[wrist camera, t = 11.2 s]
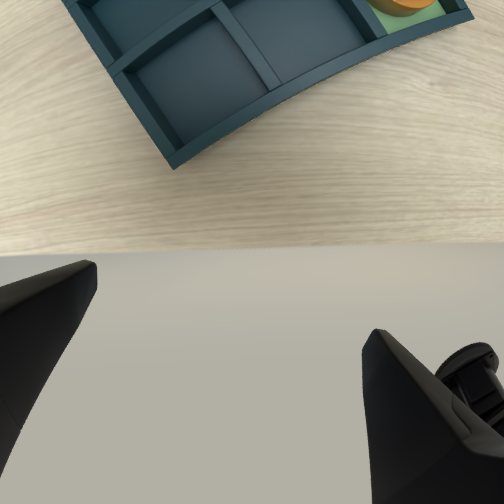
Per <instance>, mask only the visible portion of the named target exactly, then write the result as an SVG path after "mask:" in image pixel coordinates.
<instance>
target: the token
mask: <svg viewBox="0 0 504 504" xmlns="http://www.w3.org/2000/svg"><path fill="white" fill-rule="evenodd" d="M366 1H367V2H368V3H369V4H370V5H372V6H373V7H374V8H376V9H377V10H379V11H381V12H383V13H385V14H388V15H391V16H395V17H408V16H411V15H414V14H416V13H417V12H419V11H421V10H423V9H424V8H426V7H428V6H430V5H431V4H432V3H434V2H435V0H366Z"/></svg>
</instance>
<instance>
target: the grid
mask: <svg viewBox="0 0 504 504" xmlns="http://www.w3.org/2000/svg"><path fill="white" fill-rule="evenodd" d="M61 1H62V2H63V3H64V5H65V7H66V8H67V10H68V12H69V13H70V15H71V16H72V18H73V19H74V21H75V23H76V24H77V26H78V27H79V29H80V30H81V32H82V33H83V35H84V37H85V38H86V40H87V41H88V43H89V44H90V46H91V47H92V49H93V50H94V52H95V54H96V55H97V57H98V58H99V60H100V61H101V63H102V64H103V66H104V67H105V69H107V72H108V73H109V75H110V77H111V78H112V80H113V82H114V83H115V85H116V86H117V88H118V89H119V91H120V92H121V94H122V95H123V97H124V98H125V100H126V101H127V103H128V104H129V106H130V107H131V109H132V110H133V112H134V113H135V115H136V116H137V118H138V119H139V121H140V122H141V124H142V125H143V127H144V128H145V130H146V131H147V133H148V134H149V135H150V137H151V138H152V140H153V141H154V143H155V144H156V146H157V147H158V149H159V150H160V152H161V153H162V155H163V156H164V158H165V159H166V160H167V162H168V163H169V165H170V166H171V168H172V169H173V170H175V169H176V168H178V167H179V166H181V165H182V164H184V163H185V162H187V161H188V160H190V159H191V158H193V157H194V156H196V155H197V154H199V153H200V152H202V151H203V150H205V149H206V148H208V147H209V146H211V145H212V144H214V143H216V142H217V141H219V140H220V139H222V138H223V137H225V136H227V135H228V134H230V133H231V132H233V131H235V130H236V129H238V128H239V127H241V126H243V125H244V124H246V123H248V122H249V121H251V120H253V119H254V118H256V117H258V116H259V115H261V114H263V113H265V112H266V111H268V110H270V109H271V108H273V107H275V106H277V105H279V104H280V103H282V102H284V101H286V100H287V99H289V98H291V97H293V96H295V95H297V94H299V93H300V92H302V91H304V90H306V89H308V88H310V87H312V86H314V85H316V84H318V83H320V82H321V81H323V80H325V79H327V78H329V77H331V76H333V75H336V74H338V73H340V72H342V71H344V70H346V69H348V68H350V67H352V66H354V65H357V64H359V63H361V62H363V61H365V60H367V59H370V58H372V57H374V56H377V55H379V54H381V53H383V52H386V51H388V50H391V49H393V48H395V47H398V46H400V45H403V44H405V43H408V42H410V41H413V40H416V39H418V38H421V37H424V36H426V35H429V34H432V33H435V32H437V31H440V30H443V29H446V28H449V27H452V26H455V25H458V24H461V23H464V22H467V21H470V20H473V19H475V18H474V16H473V15H472V13H471V11H470V9H469V8H468V6H467V5H466V3H465V1H464V0H435V2H434V3H432V4H431V5H430V6H428V7H426V8H424V9H423V10H421V11H419V12H417V13H416V14H414V15H411V16H408V17H395V16H391V15H388V14H385V13H383V12H381V11H379V10H377V9H376V8H374V7H373V6H372V5H370V4H369V3H368V2H367V1H366V0H61Z"/></svg>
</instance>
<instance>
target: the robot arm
mask: <svg viewBox="0 0 504 504" xmlns="http://www.w3.org/2000/svg"><path fill="white" fill-rule="evenodd" d="M96 290H97V266H96V264H95V263H94V262H92V261H88V260H81V261H78V262H75V263H72V264H69V265H65V266H62V267H59V268H56V269H53V270H50V271H47V272H43V273H41V274H38V275H34V276H32V277H28V278H25V279H22V280H19V281H16V282H13V283H11V284H7V285H4V286H1V287H0V477H1V474H2V472H3V469H4V467H5V465H6V463H7V460H8V458H9V456H10V453H11V451H12V449H13V447H14V445H15V442H16V440H17V438H18V436H19V434H20V430H21V429H22V427H23V425H24V423H25V421H26V419H27V417H28V415H29V413H30V411H31V409H32V407H33V405H34V403H35V401H36V400H37V398H38V396H39V394H40V392H41V390H42V388H43V387H44V385H45V383H46V381H47V379H48V377H49V376H50V374H51V372H52V370H53V368H54V367H55V365H56V364H57V362H58V360H59V358H60V357H61V355H62V353H63V352H64V350H65V348H66V347H67V345H68V343H69V342H70V340H71V338H72V337H73V335H74V333H75V332H76V330H77V328H78V327H79V324H80V323H81V321H82V318H83V317H84V314H85V312H86V310H87V308H88V306H89V304H90V302H91V300H92V298H93V296H94V294H95V292H96ZM362 380H363V381H362V382H363V398H364V407H365V416H366V425H367V436H368V447H369V459H370V472H371V489H372V504H504V389H503V387H502V385H501V383H500V382H499V380H498V378H497V376H496V375H495V353H494V351H493V350H490V351H488V352H487V353H485V354H483V355H482V356H480V357H479V358H477V359H475V360H474V361H472V362H470V363H468V364H467V365H465V366H463V367H462V368H460V369H458V370H456V371H454V372H453V373H451V374H449V375H447V376H445V377H443V378H442V379H441V381H440V380H439V379H438V378H437V377H436V376H434V375H433V374H432V373H431V372H430V371H429V370H428V369H427V368H426V367H425V366H424V365H423V364H422V363H421V362H420V361H419V360H417V359H416V358H415V357H414V356H413V355H412V354H411V353H410V352H409V351H408V350H407V349H406V348H405V347H404V346H402V345H401V344H400V343H399V342H398V341H397V340H396V339H395V338H394V337H393V336H391V334H389V333H388V332H387V331H386V330H381V329H374V330H373V331H372V333H371V334H370V336H369V338H368V340H367V341H366V343H365V345H364V347H363V349H362Z"/></svg>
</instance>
